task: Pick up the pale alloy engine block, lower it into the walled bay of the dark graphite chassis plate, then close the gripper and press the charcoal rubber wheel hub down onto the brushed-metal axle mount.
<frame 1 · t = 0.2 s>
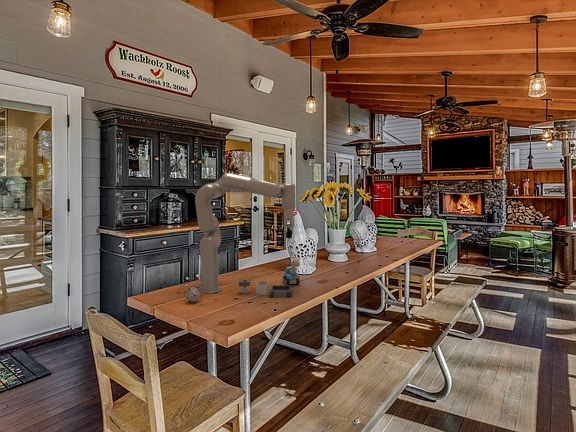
hand: (289, 236, 207), 30 cm above the table, fingers open, 9 cm apart
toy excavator: (292, 285, 222), on the table
chassis: (280, 293, 205), on the table
engine block: (262, 293, 205), on the table
axle mount: (244, 292, 207), on the table
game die: (193, 302, 192), on the table
wheel: (244, 283, 207), point 5 cm above the table, slide at 0.0 cm
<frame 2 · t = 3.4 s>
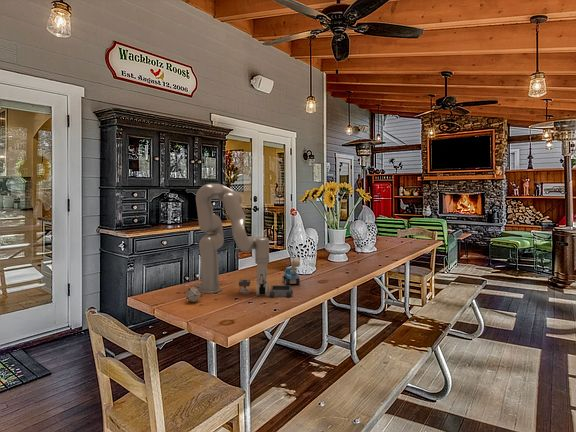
hand: (262, 292, 205), 1 cm above the table, fingers closed on engine block, 5 cm apart
engine block: (262, 293, 205), on the table, touching gripper
everything else where it was.
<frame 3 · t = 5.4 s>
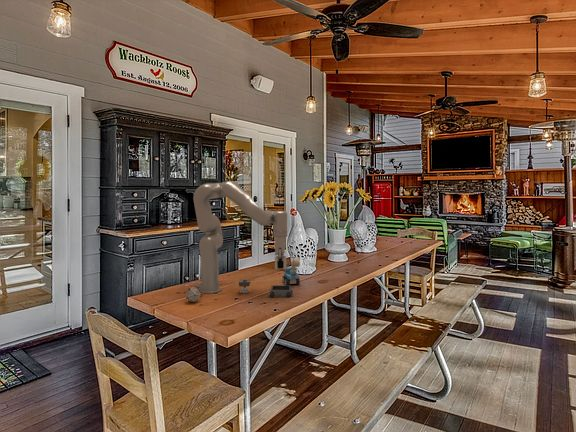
hand: (280, 266, 203), 15 cm above the table, fingers closed on engine block, 5 cm apart
engine block: (280, 268, 203), point 14 cm above the table, touching gripper
everything else where it was.
when the fingers open (4 cm above the table, at t = 7.7 s): engine block drops 2 cm, resting on chassis.
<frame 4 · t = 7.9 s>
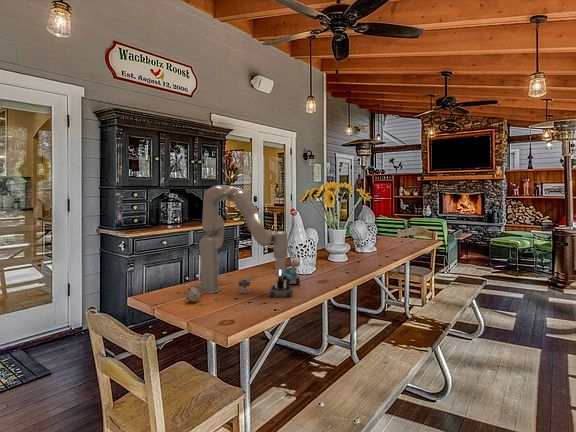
hand: (280, 286, 204), 4 cm above the table, fingers open, 7 cm apart
engine block: (280, 292, 205), point 1 cm above the table, touching chassis
everything else where it was.
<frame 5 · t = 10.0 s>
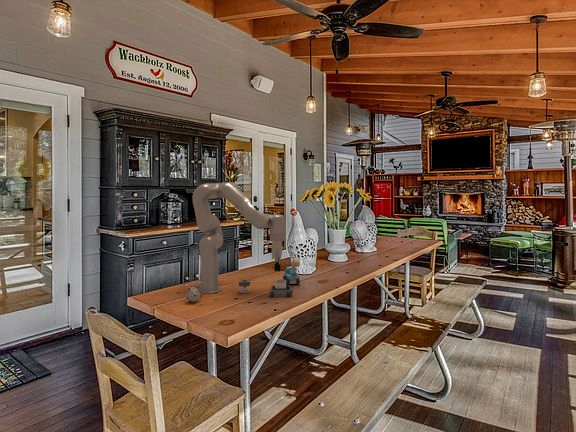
hand: (277, 270, 204), 13 cm above the table, fingers closed
nothing on the table moved.
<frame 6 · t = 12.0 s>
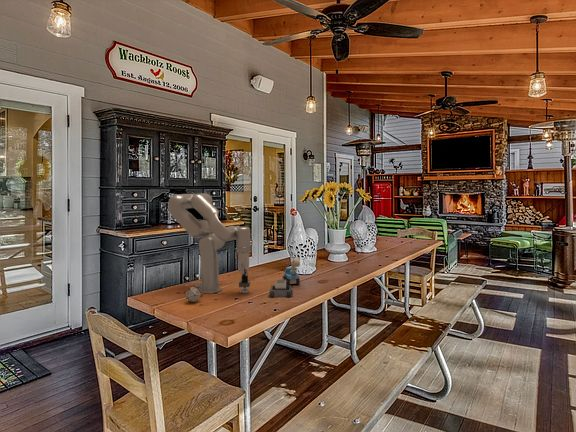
hand: (244, 282, 205), 6 cm above the table, fingers closed
wheel: (244, 283, 207), point 5 cm above the table, slide at -0.5 cm, touching gripper
everything else where it was.
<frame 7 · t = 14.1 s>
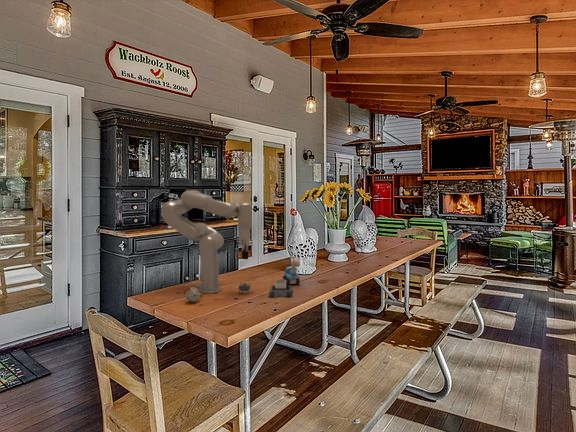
hand: (245, 258, 205), 19 cm above the table, fingers closed
wheel: (244, 286, 207), point 3 cm above the table, slide at -2.1 cm
everything else where it was.
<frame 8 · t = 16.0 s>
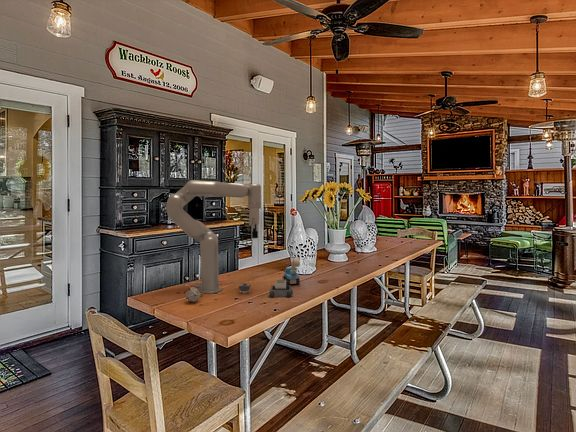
hand: (254, 237, 213), 29 cm above the table, fingers closed
nothing on the table moved.
at the end: engine block 0.1 cm off-centre on the chassis, point 0.8 cm above the chassis's base; engine block tilted 0°; wheel slide at -2.1 cm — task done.
